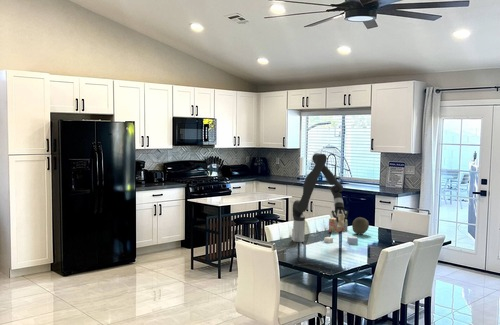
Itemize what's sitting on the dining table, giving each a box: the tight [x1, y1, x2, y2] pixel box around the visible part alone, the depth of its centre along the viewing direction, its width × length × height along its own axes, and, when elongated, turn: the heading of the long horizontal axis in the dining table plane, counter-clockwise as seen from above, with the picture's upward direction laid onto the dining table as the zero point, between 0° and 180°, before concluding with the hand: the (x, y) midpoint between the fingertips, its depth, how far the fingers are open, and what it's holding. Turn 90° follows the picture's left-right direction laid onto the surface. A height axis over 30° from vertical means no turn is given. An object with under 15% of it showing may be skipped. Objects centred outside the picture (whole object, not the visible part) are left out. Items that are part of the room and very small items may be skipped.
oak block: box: [337, 213, 345, 227], centre depth 381 cm, size 4×4×10 cm
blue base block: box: [346, 235, 359, 245], centre depth 386 cm, size 7×7×5 cm
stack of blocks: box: [328, 217, 349, 233], centre depth 436 cm, size 21×6×12 cm, turn 136°
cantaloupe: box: [351, 216, 370, 235], centre depth 422 cm, size 14×14×15 cm
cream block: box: [323, 236, 334, 244], centre depth 389 cm, size 5×5×4 cm
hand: (341, 221), depth 379 cm, fingers closed on oak block, 4 cm apart
